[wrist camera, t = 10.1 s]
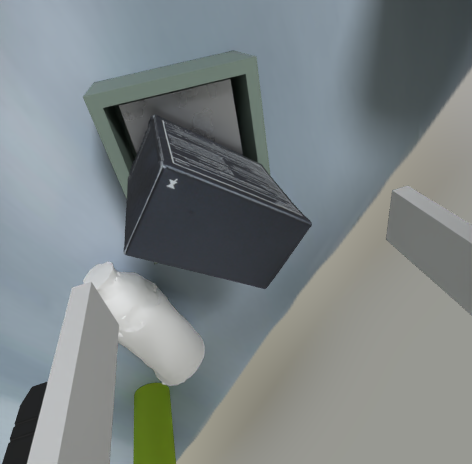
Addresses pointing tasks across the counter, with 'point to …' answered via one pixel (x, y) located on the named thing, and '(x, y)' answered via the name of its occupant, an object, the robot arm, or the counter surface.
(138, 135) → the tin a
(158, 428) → the soap dispenser
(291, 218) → the small box
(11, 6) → the counter surface
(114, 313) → the white bottle
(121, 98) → the box
